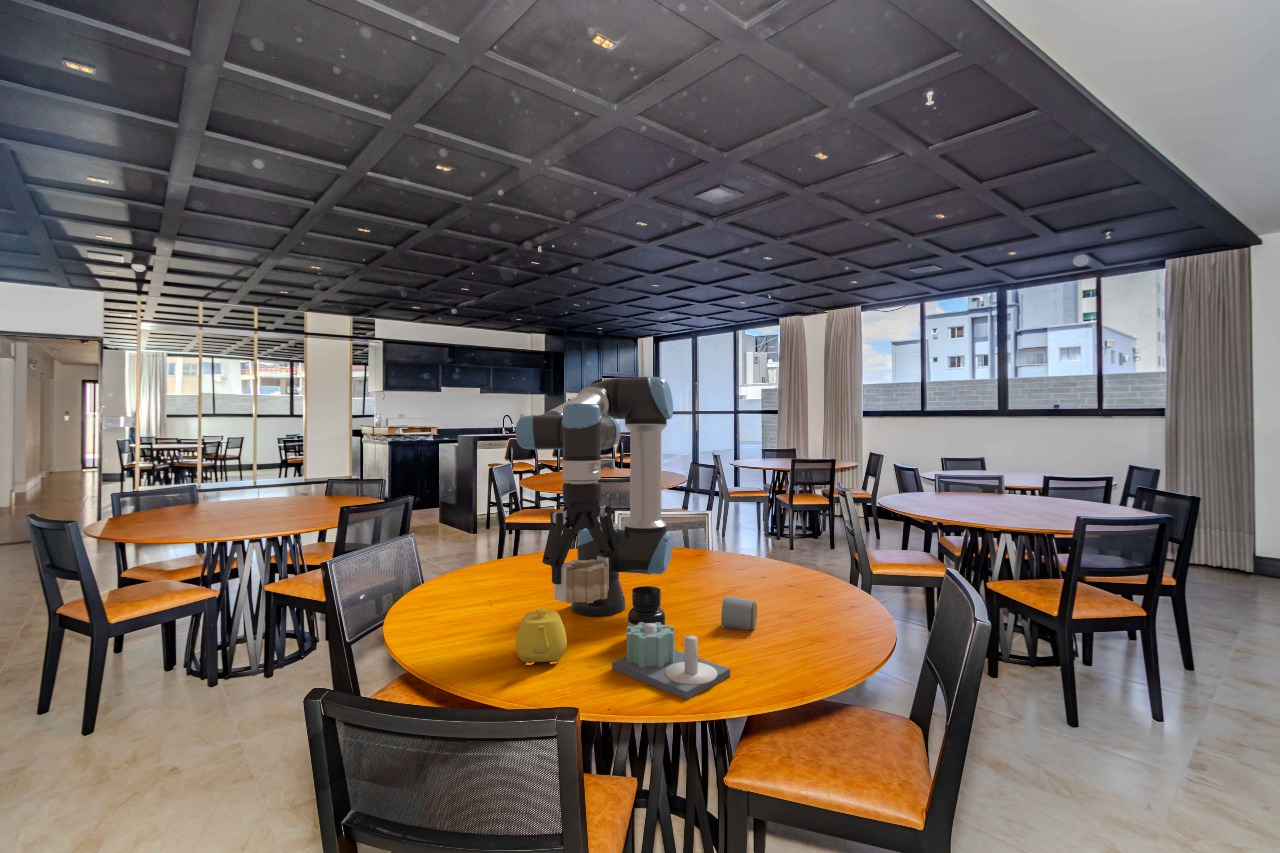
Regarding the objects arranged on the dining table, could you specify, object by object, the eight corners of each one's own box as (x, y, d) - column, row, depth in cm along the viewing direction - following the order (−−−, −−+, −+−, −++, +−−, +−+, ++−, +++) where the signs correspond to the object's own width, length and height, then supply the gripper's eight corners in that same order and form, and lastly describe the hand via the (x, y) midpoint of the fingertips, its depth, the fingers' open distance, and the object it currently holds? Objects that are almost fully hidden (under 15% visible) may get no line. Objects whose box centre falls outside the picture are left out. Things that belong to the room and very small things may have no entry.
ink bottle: (629, 633, 142) (628, 584, 142) (664, 633, 141) (664, 584, 141) (627, 648, 132) (626, 595, 132) (665, 648, 132) (665, 596, 132)
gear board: (610, 668, 121) (610, 627, 121) (655, 649, 131) (655, 612, 131) (689, 701, 106) (689, 654, 106) (733, 677, 116) (732, 635, 116)
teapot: (568, 675, 118) (567, 622, 118) (513, 679, 116) (512, 625, 116) (565, 643, 135) (565, 597, 135) (518, 646, 134) (517, 599, 134)
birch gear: (545, 595, 113) (545, 565, 113) (585, 585, 120) (585, 557, 120) (578, 606, 106) (578, 574, 106) (618, 595, 113) (618, 565, 113)
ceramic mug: (754, 634, 140) (754, 603, 140) (720, 631, 143) (720, 599, 143) (759, 621, 150) (759, 592, 150) (728, 618, 153) (728, 589, 153)
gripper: (546, 487, 103) (546, 611, 103) (635, 479, 119) (636, 586, 119) (522, 484, 108) (522, 603, 108) (611, 477, 124) (611, 580, 124)
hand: (582, 594), depth 113 cm, fingers closed on birch gear, 10 cm apart
